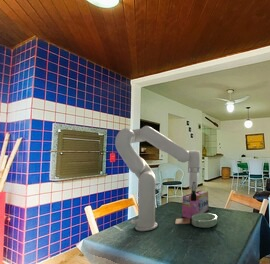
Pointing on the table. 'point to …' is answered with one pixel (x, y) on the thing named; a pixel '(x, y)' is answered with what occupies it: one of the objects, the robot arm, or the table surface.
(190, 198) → the eraser
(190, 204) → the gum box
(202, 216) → the bowl
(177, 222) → the coaster
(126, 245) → the table surface
